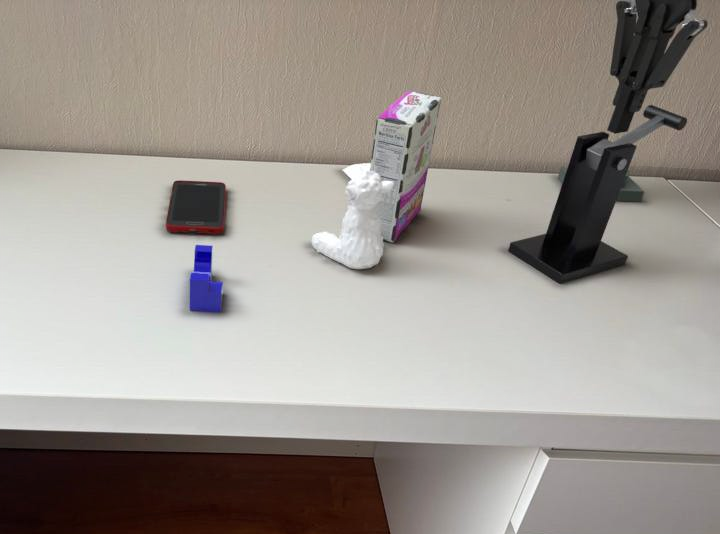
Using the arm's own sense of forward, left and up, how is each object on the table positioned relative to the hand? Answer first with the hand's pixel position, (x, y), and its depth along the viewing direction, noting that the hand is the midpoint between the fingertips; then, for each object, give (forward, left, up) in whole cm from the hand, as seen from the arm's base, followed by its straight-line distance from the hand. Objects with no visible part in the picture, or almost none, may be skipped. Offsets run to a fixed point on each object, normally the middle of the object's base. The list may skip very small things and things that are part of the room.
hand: (617, 130), depth 111 cm
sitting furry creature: (+48, +3, -10) cm, 49 cm away
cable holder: (+69, +3, -10) cm, 70 cm away
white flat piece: (+33, -13, -9) cm, 37 cm away
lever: (+17, +14, +5) cm, 23 cm away
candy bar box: (+38, -3, -9) cm, 39 cm away
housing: (0, 0, -9) cm, 9 cm away
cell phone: (+61, -17, -9) cm, 64 cm away
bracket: (+22, +14, -9) cm, 28 cm away
